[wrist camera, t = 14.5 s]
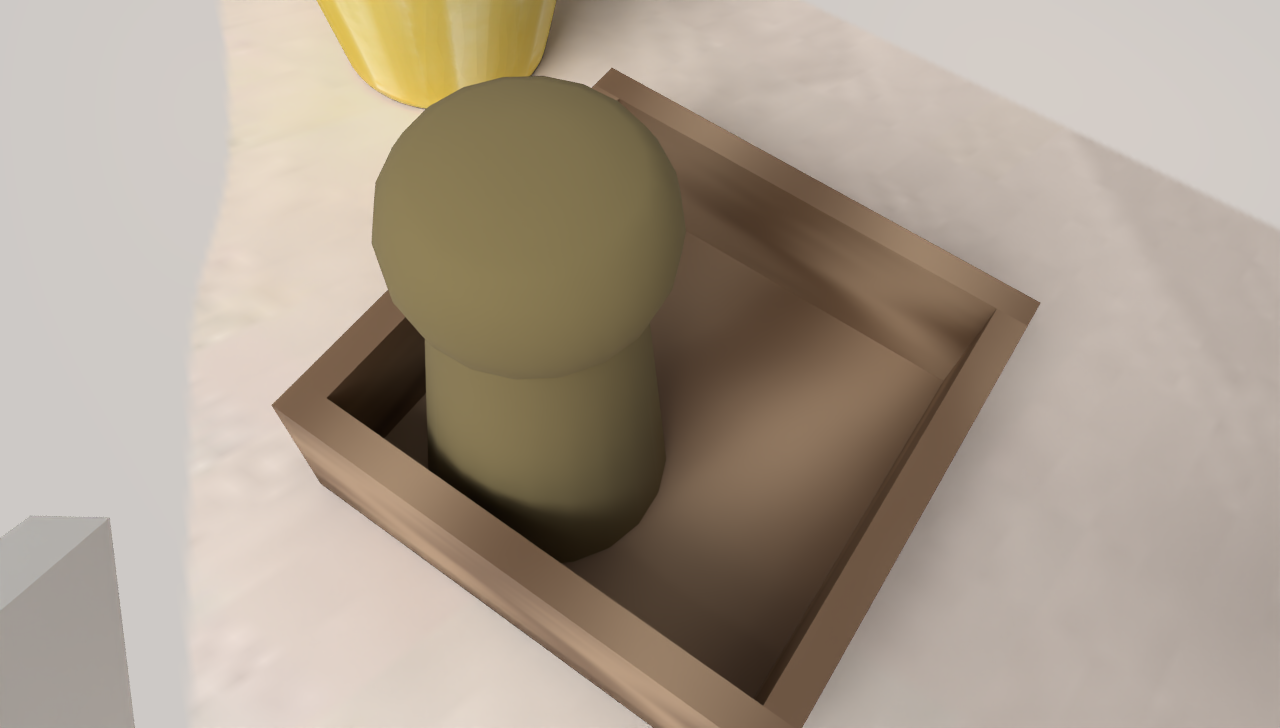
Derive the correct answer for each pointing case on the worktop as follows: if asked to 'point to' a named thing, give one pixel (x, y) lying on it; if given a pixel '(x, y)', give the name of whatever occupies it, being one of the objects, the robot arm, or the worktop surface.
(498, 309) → the cork
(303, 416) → the walnut crate
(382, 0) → the plant pot
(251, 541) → the worktop surface
